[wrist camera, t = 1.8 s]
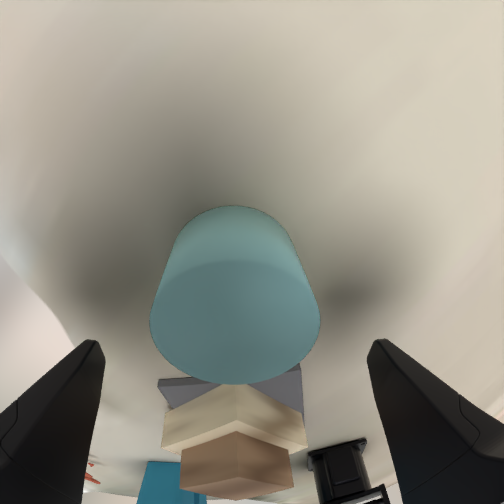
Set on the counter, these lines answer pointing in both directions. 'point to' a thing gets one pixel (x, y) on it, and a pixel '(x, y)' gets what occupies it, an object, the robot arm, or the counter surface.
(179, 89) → the counter surface
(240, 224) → the light blue cylinder
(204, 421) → the tower base
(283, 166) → the counter surface
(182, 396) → the mat
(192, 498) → the block
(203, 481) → the tower block
